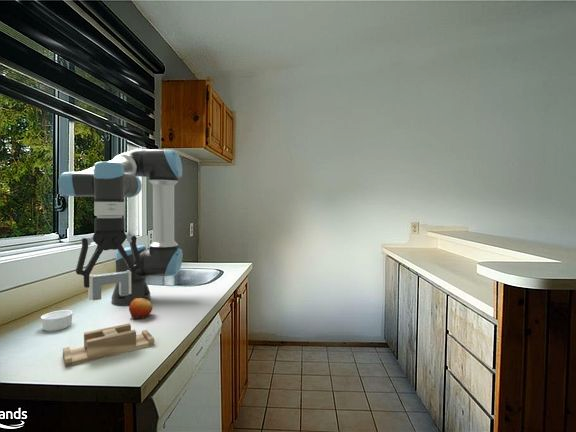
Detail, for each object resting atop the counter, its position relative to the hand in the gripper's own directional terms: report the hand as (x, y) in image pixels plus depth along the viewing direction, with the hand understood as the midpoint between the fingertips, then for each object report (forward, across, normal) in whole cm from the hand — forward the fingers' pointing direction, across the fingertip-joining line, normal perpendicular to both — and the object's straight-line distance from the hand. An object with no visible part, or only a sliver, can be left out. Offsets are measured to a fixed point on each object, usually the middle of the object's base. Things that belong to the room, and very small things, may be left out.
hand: (110, 295), depth 93 cm
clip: (0, 0, 0) cm, 0 cm away
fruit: (+16, +14, +23) cm, 31 cm away
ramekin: (+16, -11, +30) cm, 36 cm away
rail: (+16, 0, 0) cm, 16 cm away
